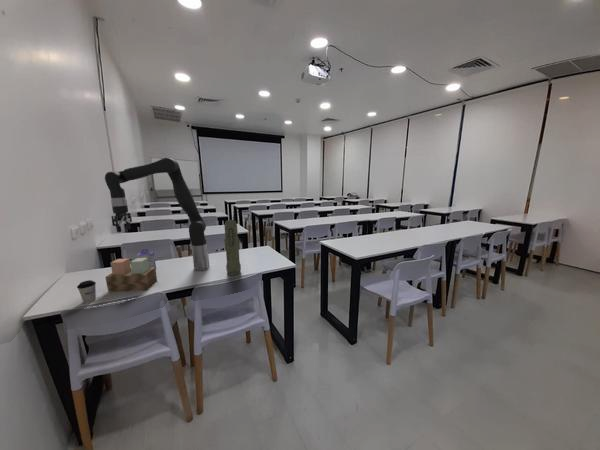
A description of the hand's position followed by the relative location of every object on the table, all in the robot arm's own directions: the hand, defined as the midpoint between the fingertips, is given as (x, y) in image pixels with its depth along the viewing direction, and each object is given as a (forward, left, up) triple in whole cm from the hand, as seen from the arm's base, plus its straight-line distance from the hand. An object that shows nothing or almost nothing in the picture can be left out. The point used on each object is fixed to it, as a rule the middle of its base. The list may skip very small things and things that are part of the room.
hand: (124, 230), depth 143 cm
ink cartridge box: (-8, -4, -29) cm, 30 cm away
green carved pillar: (-67, +8, -29) cm, 74 cm away
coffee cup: (0, +34, -29) cm, 45 cm away
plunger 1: (-8, +20, -23) cm, 32 cm away
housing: (-13, +20, -29) cm, 38 cm away
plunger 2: (-18, +20, -23) cm, 36 cm away
